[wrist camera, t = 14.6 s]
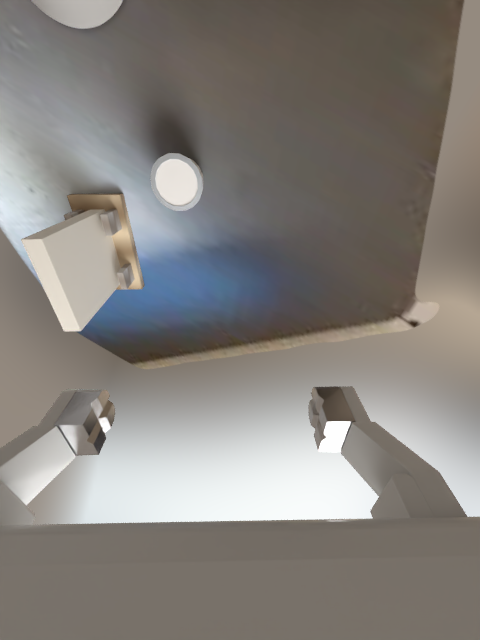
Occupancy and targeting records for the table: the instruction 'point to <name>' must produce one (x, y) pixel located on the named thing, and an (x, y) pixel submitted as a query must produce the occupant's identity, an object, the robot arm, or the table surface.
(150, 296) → the table surface
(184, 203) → the white cup
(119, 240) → the peg board base
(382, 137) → the table surface
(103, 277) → the rectangular slab
